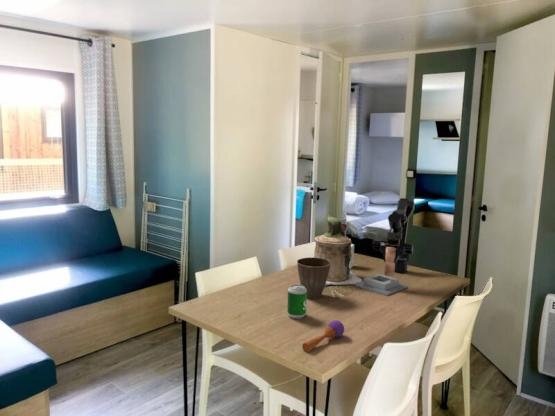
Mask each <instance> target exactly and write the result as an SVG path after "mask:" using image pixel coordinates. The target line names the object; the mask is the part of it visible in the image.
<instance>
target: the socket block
mask: <svg viewBox="0 0 555 416" xmlns="http://www.w3.org/2000/svg"><path fill="white" fill-rule="evenodd" d="M354 287H356V288H359V289H361V290H362V289H363V290H365V291H369V292H372V293H376V294H379V295H383V296H390V295H392V294H395V293H397V292H400V291H402V290H405V289H407V288H408V285H407V284H404V283H403V284H402V283H400V278H395V277H393V276H386V275H385V274H380V273H377V274H376V273H375V274H373V275H370V276H366V277H364V278H363V280H362V282H360V283H357V284H354Z"/></svg>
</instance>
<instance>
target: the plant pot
mask: <svg viewBox="0 0 555 416" xmlns="http://www.w3.org/2000/svg"><path fill="white" fill-rule="evenodd" d="M296 263H297V273H298V278H299V283H300V284H299V285H302V286H304V287H305V288H306V289H307V299H311V300H316V299H320V298H321V296H322V294H323V292H324V289H325V287H326V285H325V284H326V281H327V278H328V274H329V269H330V264H331V263H330V261H328V260H326V259H322V258H314V257H302V258H300V259H297V260H296Z"/></svg>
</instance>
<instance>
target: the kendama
mask: <svg viewBox="0 0 555 416" xmlns="http://www.w3.org/2000/svg"><path fill="white" fill-rule="evenodd" d="M344 332H345V327H344V324H343V322H341V321H340V320H336V319H335V320H332V321H330V322H329V323H328V325H327V327H326V328H325V330H324V333H323V334H321V335H320V336H317V337H315V338H312V339H309V340H308V341H305V342H304V343H302V346H301V347H302V350H303V352H306V353H310V352H311V351H312V350H313V349H314V348H315V347H316V346H318V345H319V344H320V343H321V342H323V341H324V340H325V338H328V339H335V338H340V337H341V336H342V335H343V334H344Z"/></svg>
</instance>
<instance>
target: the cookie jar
mask: <svg viewBox="0 0 555 416" xmlns="http://www.w3.org/2000/svg"><path fill="white" fill-rule="evenodd" d="M326 219H327V226H328V231H327V232H324V234H322V235H316V236H315V237H314V239H313V240H314V242H315V246H314V251H313V254H314V255H313V258H322V259H326V260H328V261H330V263H331V264H330V269H329V274H328V278H327V281H326V284H325V286H328V285H330V286H331V285H332V286H339V285H340V286H343V285H355V284H357V283H360V282H363V279H362V278H360V277H359V276H357V275H356V274H355V273H353V272H352V271H351V269H350V268H349V263H350V260H351V257H352V255H351V244H353V242H352V239H351V238H349V237H348V236H346V234H345V232H344V231H347V227H348V224H347V223H345V222H342V221H341V219H340V218H338V217H333V216H331V215H327V218H326Z"/></svg>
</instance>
